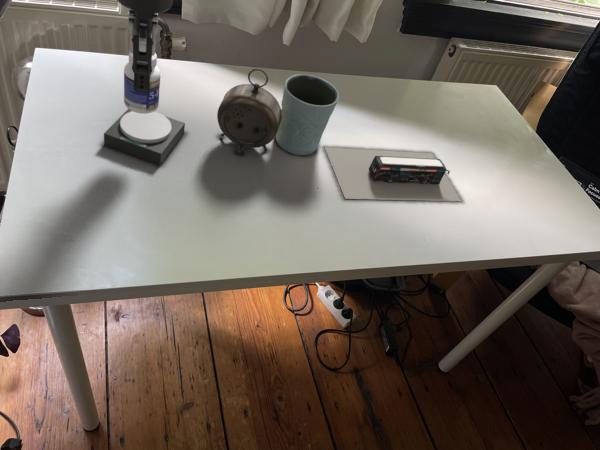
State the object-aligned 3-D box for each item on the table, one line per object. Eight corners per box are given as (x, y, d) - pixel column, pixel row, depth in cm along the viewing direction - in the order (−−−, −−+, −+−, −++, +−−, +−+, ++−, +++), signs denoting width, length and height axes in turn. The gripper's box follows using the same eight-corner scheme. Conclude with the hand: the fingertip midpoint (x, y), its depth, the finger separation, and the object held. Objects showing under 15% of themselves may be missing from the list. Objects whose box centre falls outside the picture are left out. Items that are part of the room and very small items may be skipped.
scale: (160, 164, 82) (161, 150, 80) (104, 145, 82) (103, 129, 80) (184, 133, 90) (185, 119, 87) (132, 115, 89) (132, 100, 87)
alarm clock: (274, 147, 93) (294, 71, 82) (267, 164, 89) (288, 87, 78) (218, 130, 93) (231, 51, 81) (210, 146, 89) (222, 65, 78)
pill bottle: (154, 117, 77) (157, 66, 71) (120, 110, 76) (119, 58, 70) (161, 99, 81) (164, 49, 75) (129, 92, 80) (129, 41, 74)
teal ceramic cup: (313, 127, 101) (329, 75, 93) (327, 159, 95) (347, 107, 87) (266, 125, 98) (279, 71, 89) (278, 158, 91) (293, 103, 83)
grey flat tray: (461, 201, 97) (471, 185, 94) (345, 198, 88) (352, 181, 85) (431, 153, 106) (440, 138, 103) (324, 147, 97) (330, 130, 94)
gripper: (175, -6, 60) (167, 110, 72) (173, -49, 70) (166, 59, 81) (110, -17, 58) (113, 105, 70) (116, -60, 67) (118, 53, 79)
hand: (142, 80), depth 76 cm, fingers closed on pill bottle, 5 cm apart
